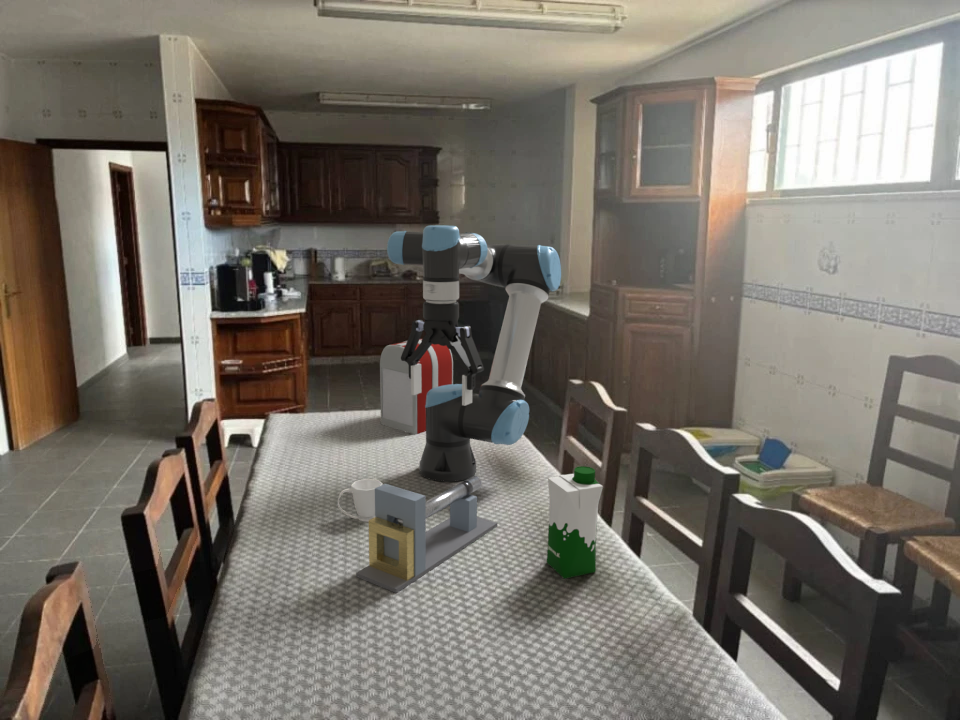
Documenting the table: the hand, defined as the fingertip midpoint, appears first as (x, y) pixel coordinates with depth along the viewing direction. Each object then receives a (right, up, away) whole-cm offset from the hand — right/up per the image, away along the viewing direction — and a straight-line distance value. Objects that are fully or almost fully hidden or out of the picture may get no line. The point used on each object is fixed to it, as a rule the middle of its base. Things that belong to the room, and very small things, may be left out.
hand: (441, 398), depth 152 cm
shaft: (0, -22, -7) cm, 23 cm away
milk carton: (+26, -33, -13) cm, 44 cm away
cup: (-18, -27, +7) cm, 34 cm away
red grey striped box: (-12, -12, +77) cm, 78 cm away
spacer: (-8, -27, -18) cm, 34 cm away
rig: (-1, -31, -7) cm, 31 cm away
